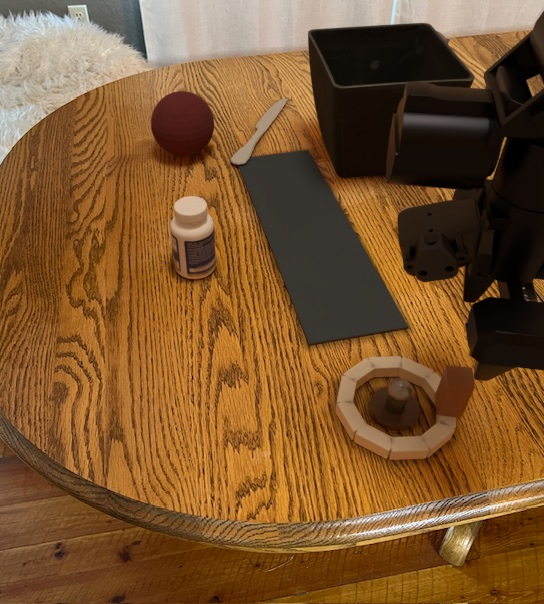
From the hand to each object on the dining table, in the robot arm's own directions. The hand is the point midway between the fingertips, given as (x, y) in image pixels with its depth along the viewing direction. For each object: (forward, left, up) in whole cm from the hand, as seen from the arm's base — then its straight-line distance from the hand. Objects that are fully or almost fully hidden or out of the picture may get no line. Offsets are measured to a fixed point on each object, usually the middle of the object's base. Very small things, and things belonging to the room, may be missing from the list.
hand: (474, 337), depth 53 cm
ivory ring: (+4, +3, -12) cm, 13 cm away
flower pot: (+39, -31, -12) cm, 51 cm away
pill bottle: (+35, +6, -12) cm, 37 cm away
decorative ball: (+59, -9, -12) cm, 60 cm away
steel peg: (+4, +3, -12) cm, 13 cm away
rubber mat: (+31, -10, -12) cm, 34 cm away
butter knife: (+56, -23, -12) cm, 61 cm away
